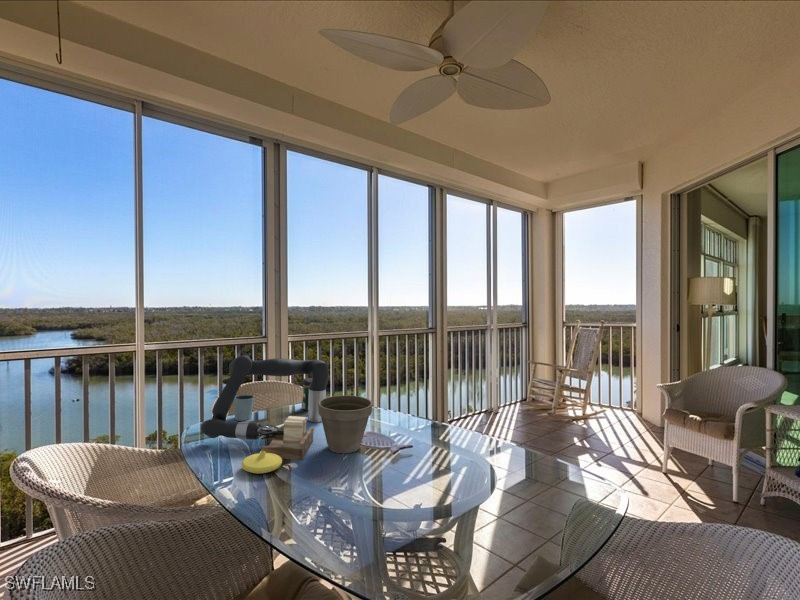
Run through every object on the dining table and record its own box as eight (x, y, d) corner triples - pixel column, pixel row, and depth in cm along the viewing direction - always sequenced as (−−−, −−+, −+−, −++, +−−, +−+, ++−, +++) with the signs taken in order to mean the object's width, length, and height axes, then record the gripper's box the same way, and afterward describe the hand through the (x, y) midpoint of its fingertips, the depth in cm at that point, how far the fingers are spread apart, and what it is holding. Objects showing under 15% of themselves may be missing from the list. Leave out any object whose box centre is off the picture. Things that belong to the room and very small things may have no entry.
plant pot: (318, 460, 178) (320, 410, 177) (314, 439, 202) (316, 395, 201) (374, 457, 185) (377, 409, 184) (364, 437, 208) (367, 394, 208)
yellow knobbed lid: (267, 457, 178) (268, 441, 178) (289, 469, 168) (290, 452, 168) (233, 468, 166) (234, 451, 166) (254, 482, 156) (255, 463, 156)
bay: (275, 439, 199) (276, 425, 199) (312, 441, 199) (313, 427, 199) (260, 457, 178) (261, 441, 178) (302, 459, 178) (303, 443, 178)
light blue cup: (229, 419, 223) (230, 397, 223) (241, 414, 233) (242, 393, 232) (245, 422, 220) (246, 400, 220) (257, 417, 230) (258, 395, 229)
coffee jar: (314, 405, 256) (316, 376, 256) (319, 409, 250) (321, 378, 249) (299, 407, 251) (301, 377, 250) (304, 411, 244) (305, 380, 244)
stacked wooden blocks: (287, 441, 192) (288, 415, 192) (305, 442, 192) (306, 416, 192) (282, 448, 184) (283, 421, 184) (301, 449, 184) (302, 422, 184)
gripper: (243, 427, 181) (282, 429, 181) (253, 417, 195) (290, 419, 195) (242, 444, 182) (281, 446, 182) (253, 433, 195) (289, 435, 195)
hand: (286, 432), depth 188 cm, fingers closed
